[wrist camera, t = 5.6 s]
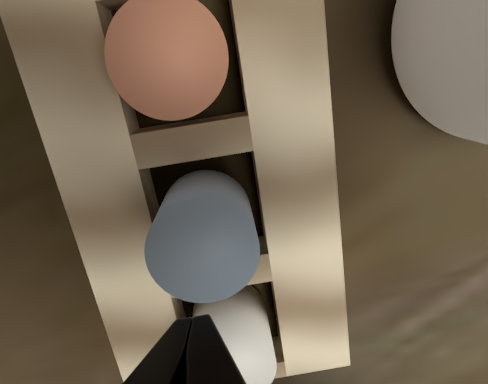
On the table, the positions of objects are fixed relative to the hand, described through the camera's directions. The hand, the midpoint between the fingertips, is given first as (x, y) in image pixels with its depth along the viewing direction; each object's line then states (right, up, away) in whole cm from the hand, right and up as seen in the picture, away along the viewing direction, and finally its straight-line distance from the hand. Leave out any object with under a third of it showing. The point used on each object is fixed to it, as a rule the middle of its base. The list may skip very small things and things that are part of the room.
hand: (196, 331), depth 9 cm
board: (-1, +3, +9) cm, 10 cm away
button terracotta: (-2, +9, +7) cm, 11 cm away
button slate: (-1, +3, +7) cm, 8 cm away
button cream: (0, -3, +11) cm, 11 cm away
